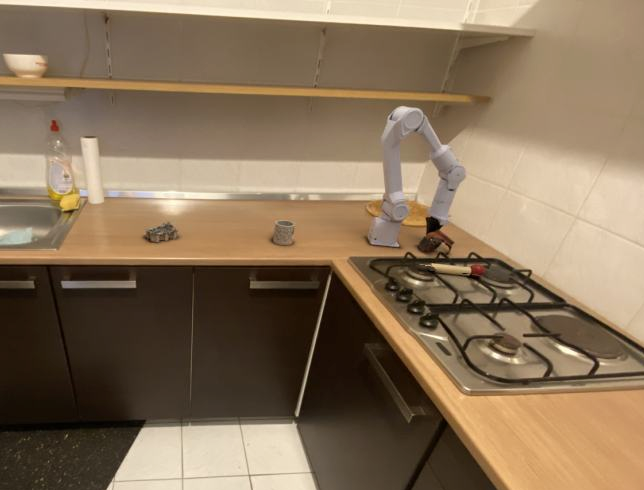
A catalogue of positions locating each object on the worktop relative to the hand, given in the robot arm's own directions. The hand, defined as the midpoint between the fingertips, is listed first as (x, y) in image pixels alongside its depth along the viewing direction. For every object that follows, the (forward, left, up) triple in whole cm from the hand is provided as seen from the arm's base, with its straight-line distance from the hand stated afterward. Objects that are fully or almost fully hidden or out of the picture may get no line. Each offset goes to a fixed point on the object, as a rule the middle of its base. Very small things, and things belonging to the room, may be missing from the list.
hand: (429, 238), depth 137 cm
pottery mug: (0, -7, -3) cm, 7 cm away
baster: (-1, -24, -2) cm, 24 cm away
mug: (-52, -10, -3) cm, 53 cm away
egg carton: (-93, -20, -3) cm, 95 cm away
